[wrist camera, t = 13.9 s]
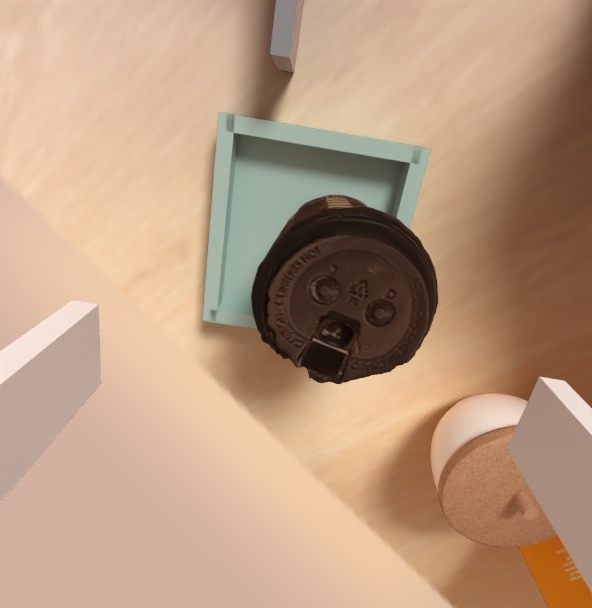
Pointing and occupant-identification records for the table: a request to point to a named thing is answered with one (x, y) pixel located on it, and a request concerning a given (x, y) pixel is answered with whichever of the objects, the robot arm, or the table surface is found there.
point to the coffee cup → (344, 291)
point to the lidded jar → (485, 474)
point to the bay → (286, 33)
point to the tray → (289, 195)
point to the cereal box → (557, 575)
